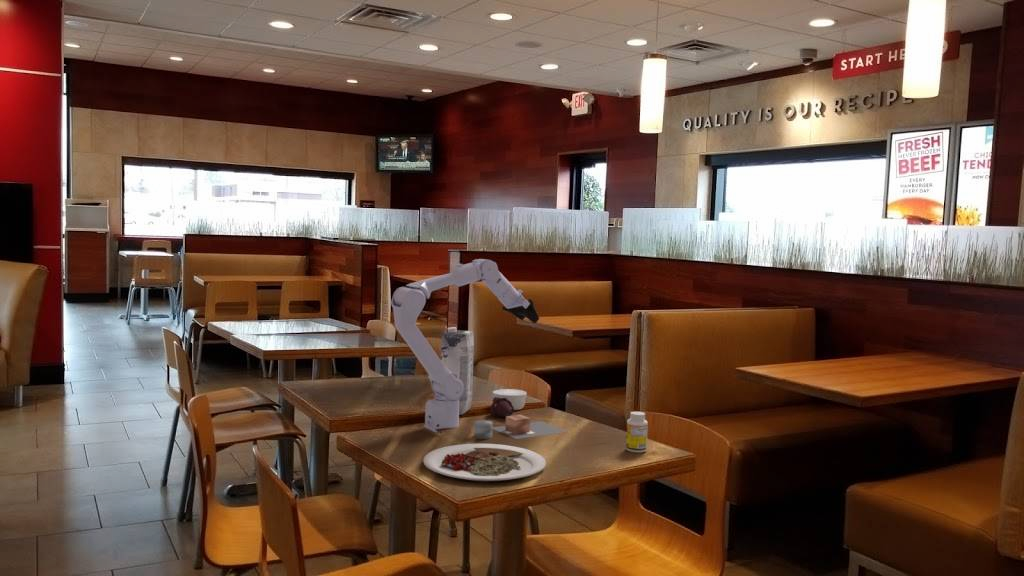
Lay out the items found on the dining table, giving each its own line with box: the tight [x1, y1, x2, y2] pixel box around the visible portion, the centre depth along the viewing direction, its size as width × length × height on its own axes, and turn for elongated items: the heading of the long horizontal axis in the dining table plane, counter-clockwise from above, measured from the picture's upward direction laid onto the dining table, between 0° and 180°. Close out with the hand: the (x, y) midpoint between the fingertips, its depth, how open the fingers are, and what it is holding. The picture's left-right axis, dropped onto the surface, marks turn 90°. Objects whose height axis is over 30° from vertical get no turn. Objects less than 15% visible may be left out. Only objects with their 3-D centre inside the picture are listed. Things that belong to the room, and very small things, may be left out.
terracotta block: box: [505, 414, 531, 434], centre depth 224 cm, size 5×5×4 cm
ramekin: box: [492, 388, 528, 411], centre depth 259 cm, size 11×11×5 cm
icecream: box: [490, 397, 515, 418], centre depth 243 cm, size 7×7×15 cm
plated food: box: [422, 443, 547, 482], centre depth 193 cm, size 30×30×3 cm
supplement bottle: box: [625, 411, 649, 454], centre depth 212 cm, size 6×6×10 cm
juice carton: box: [440, 326, 475, 416], centre depth 250 cm, size 9×10×27 cm
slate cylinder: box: [473, 420, 494, 440], centre depth 217 cm, size 5×5×5 cm
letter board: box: [492, 421, 569, 440], centre depth 227 cm, size 18×14×1 cm
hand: (530, 319), depth 241 cm, fingers open, 7 cm apart
